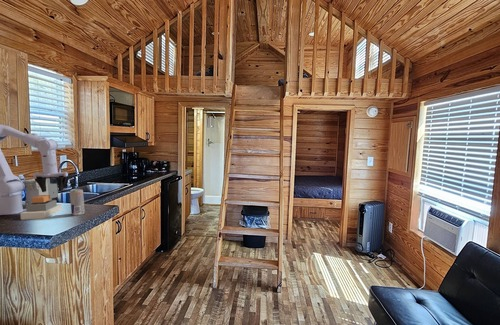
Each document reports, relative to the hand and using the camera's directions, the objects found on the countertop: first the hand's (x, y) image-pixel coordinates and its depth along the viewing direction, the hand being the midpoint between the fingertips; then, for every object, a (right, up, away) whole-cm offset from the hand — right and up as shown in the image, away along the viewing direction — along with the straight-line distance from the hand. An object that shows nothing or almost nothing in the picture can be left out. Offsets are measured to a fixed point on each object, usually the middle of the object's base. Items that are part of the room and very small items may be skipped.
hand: (52, 191), depth 130 cm
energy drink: (+15, -11, -3) cm, 19 cm away
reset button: (-2, -4, -4) cm, 6 cm away
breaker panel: (-2, -11, -3) cm, 12 cm away
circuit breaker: (-15, -10, +13) cm, 22 cm away
